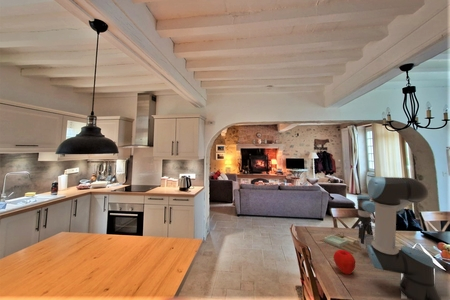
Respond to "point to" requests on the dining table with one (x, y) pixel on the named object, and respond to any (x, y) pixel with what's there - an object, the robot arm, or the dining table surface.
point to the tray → (335, 240)
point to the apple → (344, 261)
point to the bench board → (347, 245)
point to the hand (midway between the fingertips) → (366, 246)
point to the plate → (351, 240)
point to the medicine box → (367, 240)
